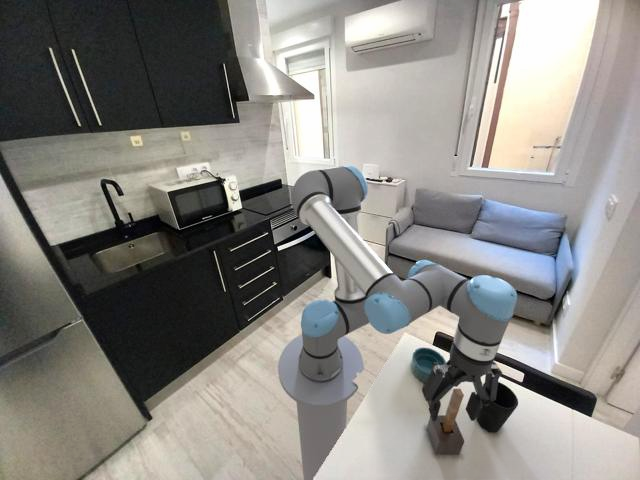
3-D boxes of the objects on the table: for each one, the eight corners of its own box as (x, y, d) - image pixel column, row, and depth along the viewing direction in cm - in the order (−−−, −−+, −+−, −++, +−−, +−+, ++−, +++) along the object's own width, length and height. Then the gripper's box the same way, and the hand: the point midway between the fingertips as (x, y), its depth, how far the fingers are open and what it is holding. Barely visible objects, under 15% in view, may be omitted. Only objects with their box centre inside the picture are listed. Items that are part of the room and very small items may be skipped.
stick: (440, 444, 66) (456, 395, 57) (437, 437, 68) (453, 388, 59) (446, 444, 66) (464, 395, 57) (443, 437, 68) (460, 388, 59)
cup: (479, 402, 76) (490, 375, 70) (508, 424, 70) (523, 396, 65) (466, 419, 71) (477, 391, 66) (496, 444, 66) (510, 416, 61)
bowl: (404, 370, 86) (406, 359, 83) (419, 352, 92) (422, 342, 90) (434, 391, 79) (437, 380, 77) (448, 371, 85) (451, 360, 83)
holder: (435, 454, 64) (439, 441, 62) (426, 428, 70) (430, 415, 67) (459, 454, 64) (464, 441, 61) (448, 428, 69) (453, 415, 67)
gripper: (428, 363, 49) (412, 432, 59) (540, 363, 49) (505, 432, 58) (415, 333, 56) (402, 399, 65) (513, 332, 55) (486, 399, 65)
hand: (451, 414), depth 62 cm, fingers open, 8 cm apart
